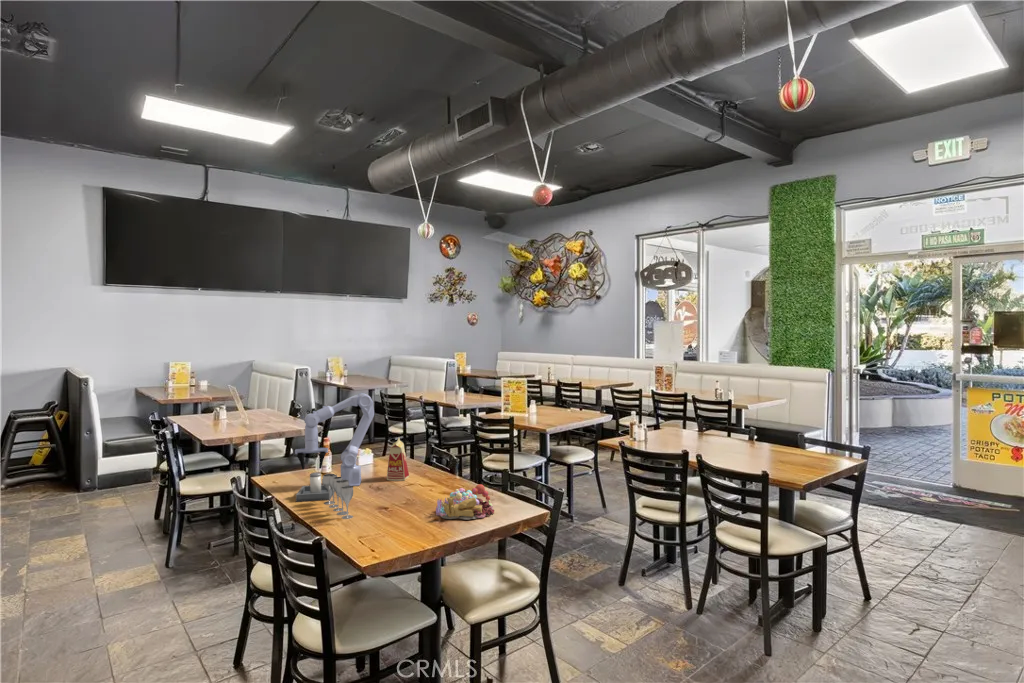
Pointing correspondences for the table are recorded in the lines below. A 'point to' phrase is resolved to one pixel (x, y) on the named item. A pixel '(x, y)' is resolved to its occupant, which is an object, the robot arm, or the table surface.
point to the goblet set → (338, 492)
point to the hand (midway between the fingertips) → (311, 468)
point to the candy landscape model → (465, 504)
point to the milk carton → (397, 463)
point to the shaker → (315, 482)
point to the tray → (312, 494)
